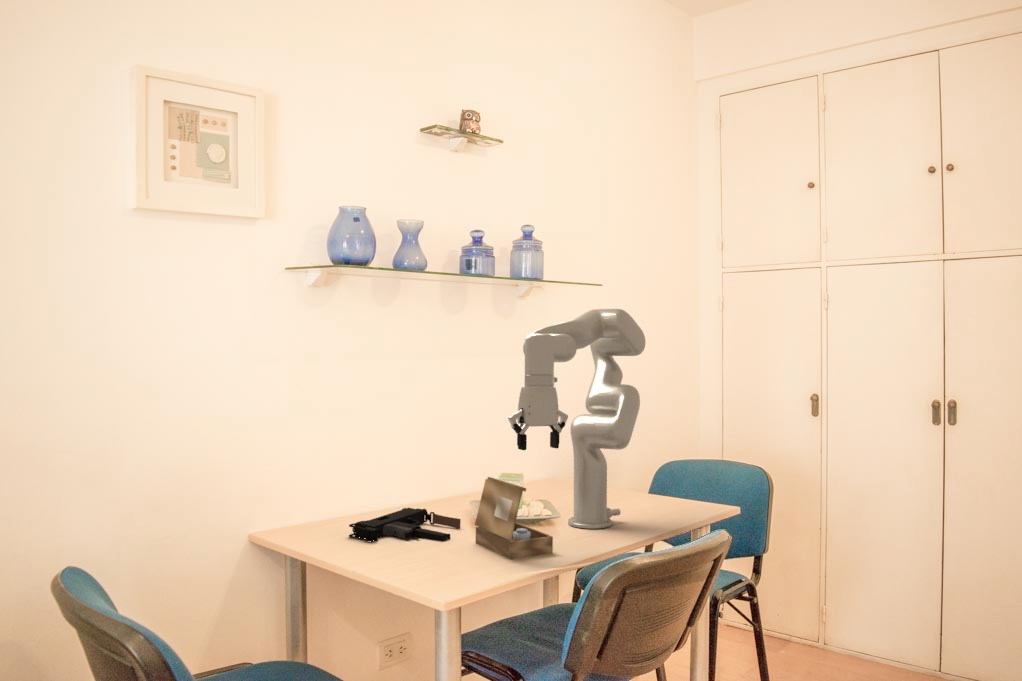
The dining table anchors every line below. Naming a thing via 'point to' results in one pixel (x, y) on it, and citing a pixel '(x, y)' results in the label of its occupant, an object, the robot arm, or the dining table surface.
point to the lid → (499, 507)
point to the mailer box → (516, 543)
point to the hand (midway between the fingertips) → (538, 448)
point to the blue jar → (521, 534)
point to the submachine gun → (403, 526)
